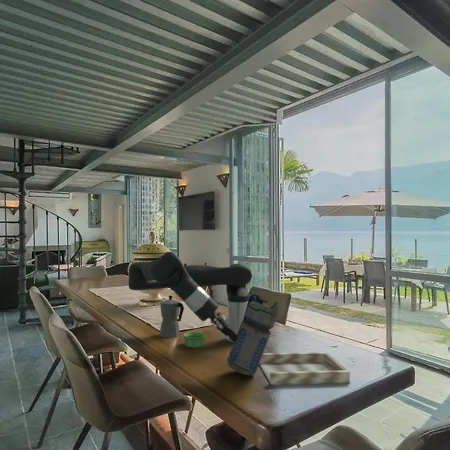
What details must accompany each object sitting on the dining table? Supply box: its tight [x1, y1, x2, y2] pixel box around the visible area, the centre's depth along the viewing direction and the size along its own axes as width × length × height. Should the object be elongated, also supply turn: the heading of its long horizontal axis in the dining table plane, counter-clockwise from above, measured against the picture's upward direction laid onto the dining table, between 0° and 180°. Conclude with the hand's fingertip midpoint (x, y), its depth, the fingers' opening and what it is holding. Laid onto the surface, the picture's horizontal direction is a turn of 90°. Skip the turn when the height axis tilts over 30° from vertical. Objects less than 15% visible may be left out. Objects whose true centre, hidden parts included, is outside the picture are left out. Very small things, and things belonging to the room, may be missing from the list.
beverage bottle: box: [226, 293, 280, 376], centre depth 115 cm, size 10×13×25 cm
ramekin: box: [183, 331, 206, 349], centre depth 144 cm, size 9×9×4 cm
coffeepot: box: [159, 295, 185, 339], centre depth 157 cm, size 15×9×18 cm, turn 49°
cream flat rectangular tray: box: [259, 351, 351, 386], centre depth 116 cm, size 25×18×4 cm
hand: (237, 340), depth 114 cm, fingers closed
